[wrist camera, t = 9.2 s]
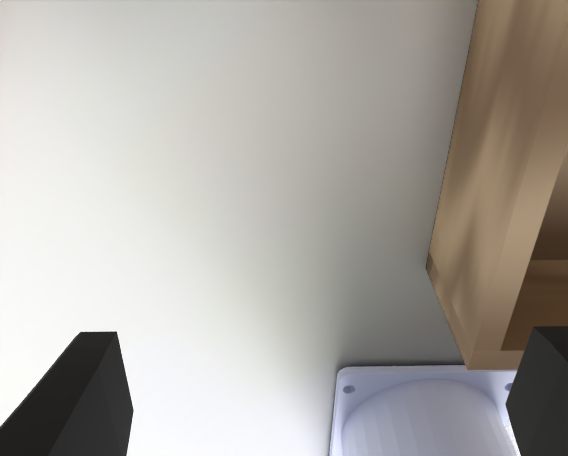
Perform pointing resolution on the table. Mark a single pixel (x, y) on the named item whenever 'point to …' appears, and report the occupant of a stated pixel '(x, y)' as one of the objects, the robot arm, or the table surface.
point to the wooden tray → (506, 186)
